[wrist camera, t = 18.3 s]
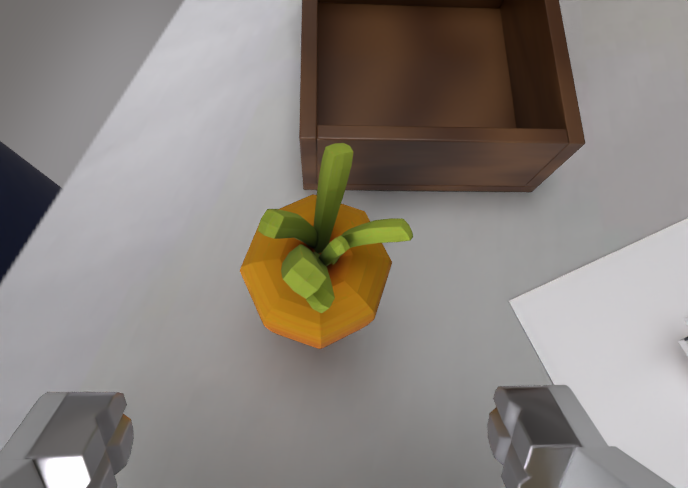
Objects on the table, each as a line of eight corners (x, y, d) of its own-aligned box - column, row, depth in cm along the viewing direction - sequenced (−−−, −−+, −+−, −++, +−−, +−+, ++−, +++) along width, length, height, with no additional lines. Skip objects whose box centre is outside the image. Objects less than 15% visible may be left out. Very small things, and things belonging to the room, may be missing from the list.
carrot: (314, 250, 26) (308, 79, 11) (382, 309, 25) (470, 206, 10) (251, 317, 24) (154, 221, 10) (321, 381, 23) (325, 377, 9)
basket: (303, 189, 27) (299, 138, 21) (306, 2, 31) (303, -82, 25) (531, 192, 27) (585, 143, 22) (505, 9, 31) (545, -72, 26)
